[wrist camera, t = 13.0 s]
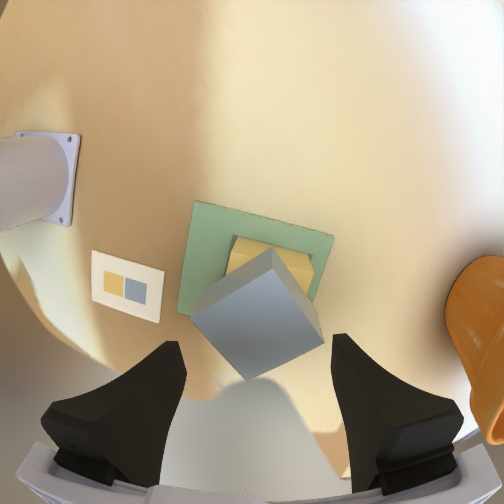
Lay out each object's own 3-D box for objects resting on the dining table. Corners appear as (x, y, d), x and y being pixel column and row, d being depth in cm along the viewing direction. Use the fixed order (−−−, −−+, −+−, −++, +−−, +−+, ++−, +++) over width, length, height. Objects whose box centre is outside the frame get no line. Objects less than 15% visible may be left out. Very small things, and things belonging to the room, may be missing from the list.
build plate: (178, 308, 23) (176, 311, 22) (196, 200, 20) (194, 201, 19) (296, 337, 23) (296, 341, 22) (332, 235, 20) (334, 237, 19)
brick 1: (223, 298, 21) (215, 322, 18) (238, 236, 20) (231, 251, 17) (287, 313, 21) (289, 340, 18) (307, 253, 20) (314, 272, 17)
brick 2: (204, 289, 17) (189, 318, 14) (272, 246, 16) (271, 268, 13) (250, 345, 18) (246, 380, 15) (316, 310, 17) (324, 342, 14)
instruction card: (92, 299, 23) (91, 300, 23) (93, 249, 22) (91, 250, 21) (159, 322, 23) (158, 324, 23) (165, 271, 22) (164, 272, 22)
